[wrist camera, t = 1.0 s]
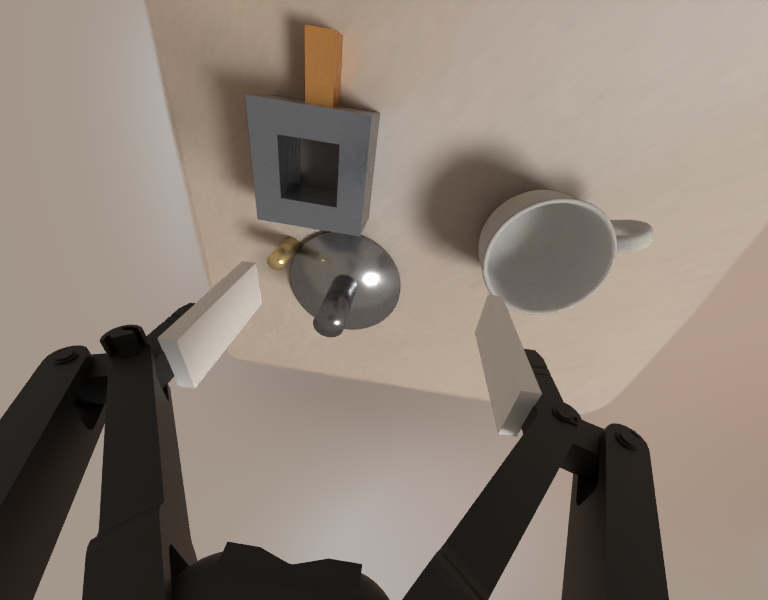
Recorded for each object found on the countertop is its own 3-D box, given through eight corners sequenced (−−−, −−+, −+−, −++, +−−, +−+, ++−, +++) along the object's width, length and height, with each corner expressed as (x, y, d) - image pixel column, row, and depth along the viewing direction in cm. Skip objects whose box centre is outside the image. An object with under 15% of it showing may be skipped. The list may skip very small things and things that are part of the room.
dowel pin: (284, 235, 36) (266, 253, 32) (299, 238, 36) (283, 256, 32) (285, 249, 37) (267, 268, 33) (299, 252, 37) (284, 271, 33)
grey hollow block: (368, 217, 33) (360, 236, 29) (279, 202, 34) (257, 219, 29) (387, 42, 25) (380, 30, 20) (269, 23, 25) (235, 6, 21)
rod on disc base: (289, 221, 35) (255, 253, 28) (409, 242, 34) (406, 279, 27) (293, 317, 42) (267, 361, 35) (391, 334, 42) (385, 381, 35)
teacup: (469, 277, 36) (480, 317, 30) (473, 183, 30) (488, 206, 24) (595, 271, 34) (637, 313, 28) (626, 169, 28) (689, 190, 22)
